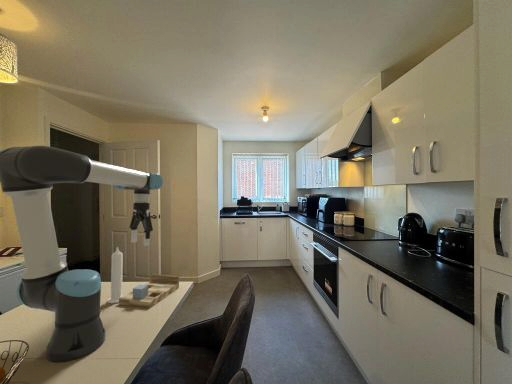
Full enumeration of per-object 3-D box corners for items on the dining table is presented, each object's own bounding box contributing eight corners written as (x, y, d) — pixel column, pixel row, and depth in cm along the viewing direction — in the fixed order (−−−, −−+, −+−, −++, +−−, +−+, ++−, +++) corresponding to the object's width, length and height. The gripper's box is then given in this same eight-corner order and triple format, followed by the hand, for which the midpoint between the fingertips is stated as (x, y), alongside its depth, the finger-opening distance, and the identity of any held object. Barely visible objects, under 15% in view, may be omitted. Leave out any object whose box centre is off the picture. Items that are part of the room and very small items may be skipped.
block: (141, 299, 104) (141, 289, 104) (132, 298, 105) (132, 288, 105) (147, 295, 108) (148, 285, 109) (139, 294, 109) (139, 284, 109)
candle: (119, 303, 105) (120, 248, 106) (103, 303, 105) (105, 248, 106) (128, 297, 112) (129, 245, 113) (113, 296, 112) (114, 245, 113)
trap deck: (149, 308, 101) (150, 294, 101) (118, 304, 104) (119, 291, 104) (178, 287, 125) (179, 276, 125) (152, 285, 128) (152, 274, 128)
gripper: (161, 202, 114) (159, 245, 113) (137, 202, 130) (136, 240, 129) (146, 202, 108) (144, 247, 107) (123, 202, 124) (122, 241, 123)
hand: (140, 243), depth 118 cm, fingers open, 13 cm apart
